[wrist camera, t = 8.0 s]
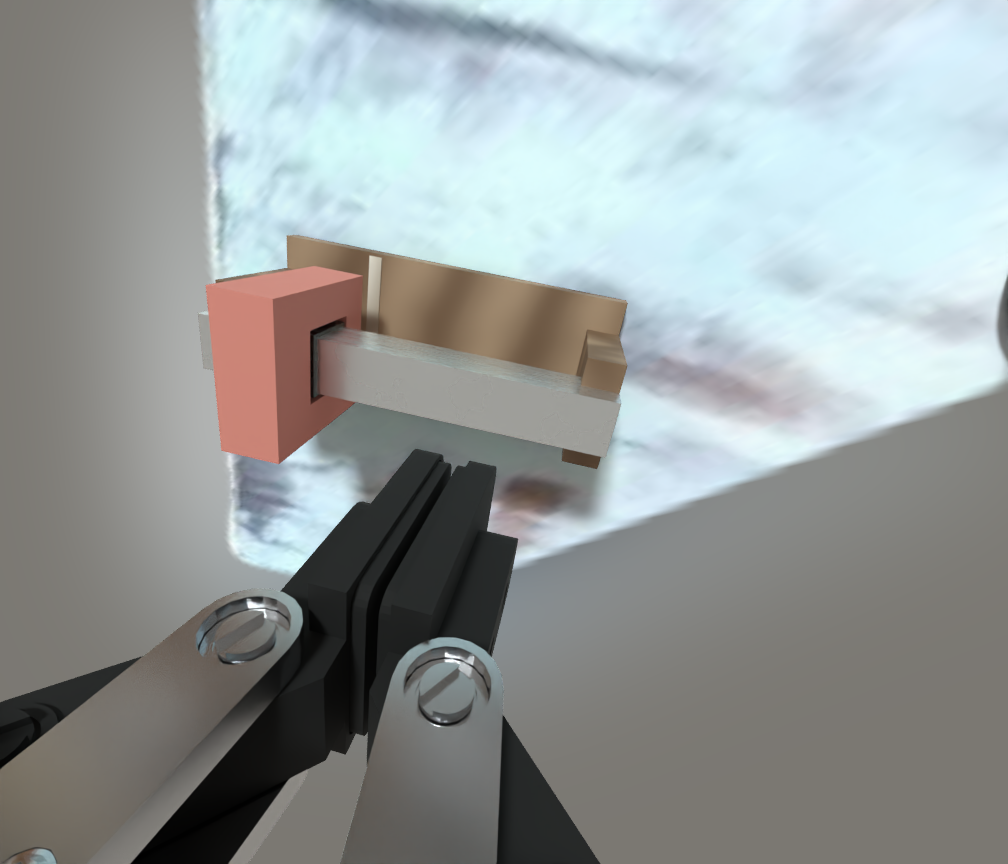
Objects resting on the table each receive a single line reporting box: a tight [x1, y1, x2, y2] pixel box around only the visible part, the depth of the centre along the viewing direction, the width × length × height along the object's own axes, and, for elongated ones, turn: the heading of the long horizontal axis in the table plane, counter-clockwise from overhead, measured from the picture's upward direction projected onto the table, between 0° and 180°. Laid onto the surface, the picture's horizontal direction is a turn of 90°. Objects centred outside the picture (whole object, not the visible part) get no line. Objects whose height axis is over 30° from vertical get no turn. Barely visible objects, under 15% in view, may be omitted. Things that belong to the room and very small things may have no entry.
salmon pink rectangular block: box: [206, 266, 363, 464], centre depth 26 cm, size 3×8×9 cm, turn 170°
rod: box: [198, 311, 621, 458], centre depth 26 cm, size 22×3×3 cm, turn 80°
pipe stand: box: [216, 235, 627, 469], centre depth 29 cm, size 22×10×8 cm, turn 80°
